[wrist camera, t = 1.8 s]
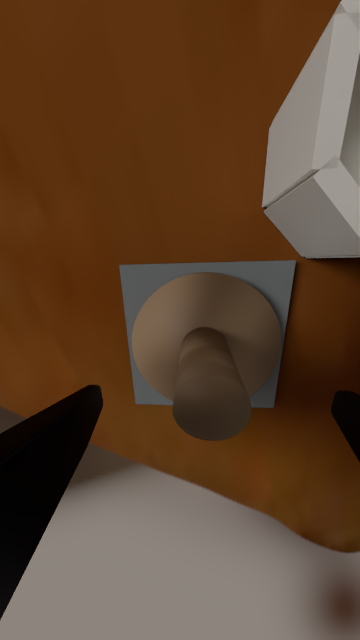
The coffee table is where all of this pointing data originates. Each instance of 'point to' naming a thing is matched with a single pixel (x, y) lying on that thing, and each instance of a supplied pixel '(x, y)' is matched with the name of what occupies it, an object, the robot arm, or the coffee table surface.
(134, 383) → the mat
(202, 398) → the lid
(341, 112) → the bowl
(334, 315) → the coffee table surface
